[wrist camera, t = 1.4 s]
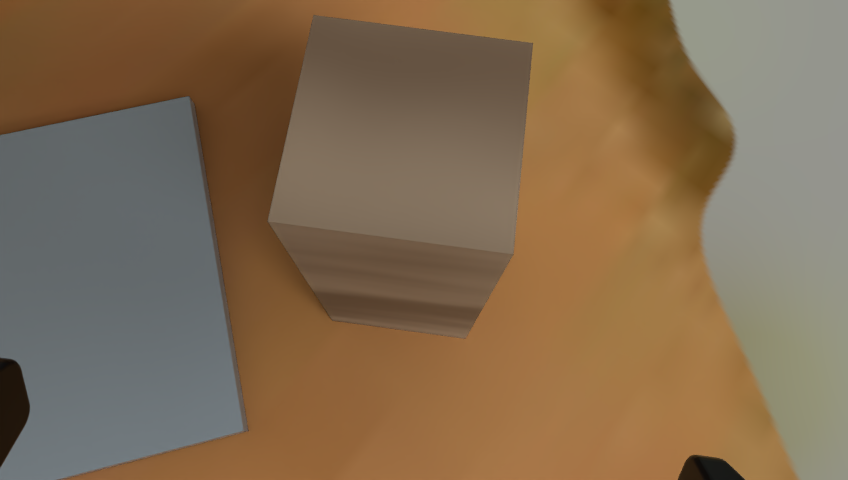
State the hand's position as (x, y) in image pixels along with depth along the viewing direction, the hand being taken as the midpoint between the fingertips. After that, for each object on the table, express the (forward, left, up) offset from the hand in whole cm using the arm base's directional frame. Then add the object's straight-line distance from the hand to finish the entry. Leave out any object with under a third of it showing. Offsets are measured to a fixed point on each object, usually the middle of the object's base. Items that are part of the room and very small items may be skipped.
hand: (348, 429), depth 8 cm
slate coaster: (+8, +9, -12) cm, 17 cm away
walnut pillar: (+5, -3, -12) cm, 13 cm away
